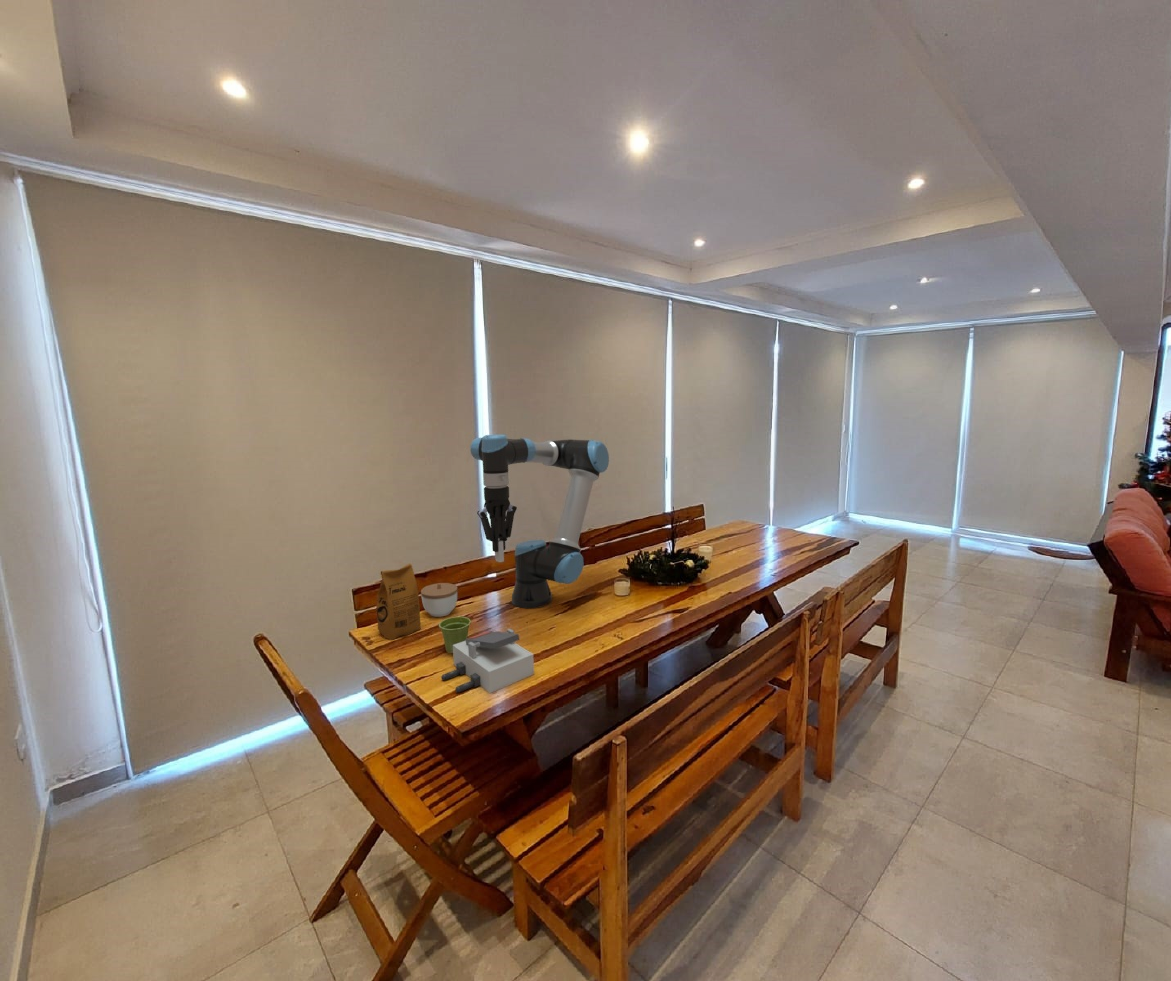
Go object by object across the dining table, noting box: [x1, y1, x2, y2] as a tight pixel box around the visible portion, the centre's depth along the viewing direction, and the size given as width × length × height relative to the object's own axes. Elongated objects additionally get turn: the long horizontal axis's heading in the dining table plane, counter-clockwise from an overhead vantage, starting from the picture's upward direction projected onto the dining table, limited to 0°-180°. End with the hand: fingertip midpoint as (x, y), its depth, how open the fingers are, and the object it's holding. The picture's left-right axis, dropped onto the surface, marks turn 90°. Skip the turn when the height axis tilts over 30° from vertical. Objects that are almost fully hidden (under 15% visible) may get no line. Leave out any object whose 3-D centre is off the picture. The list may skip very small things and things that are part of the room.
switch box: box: [441, 628, 535, 694], centre depth 141 cm, size 21×20×10 cm
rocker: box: [465, 630, 520, 649], centre depth 143 cm, size 11×16×2 cm, turn 42°
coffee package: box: [376, 563, 421, 641], centre depth 167 cm, size 10×12×22 cm
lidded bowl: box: [420, 582, 458, 618], centre depth 183 cm, size 13×13×11 cm
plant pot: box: [438, 616, 472, 654], centre depth 156 cm, size 9×9×9 cm
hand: (499, 561), depth 158 cm, fingers closed
